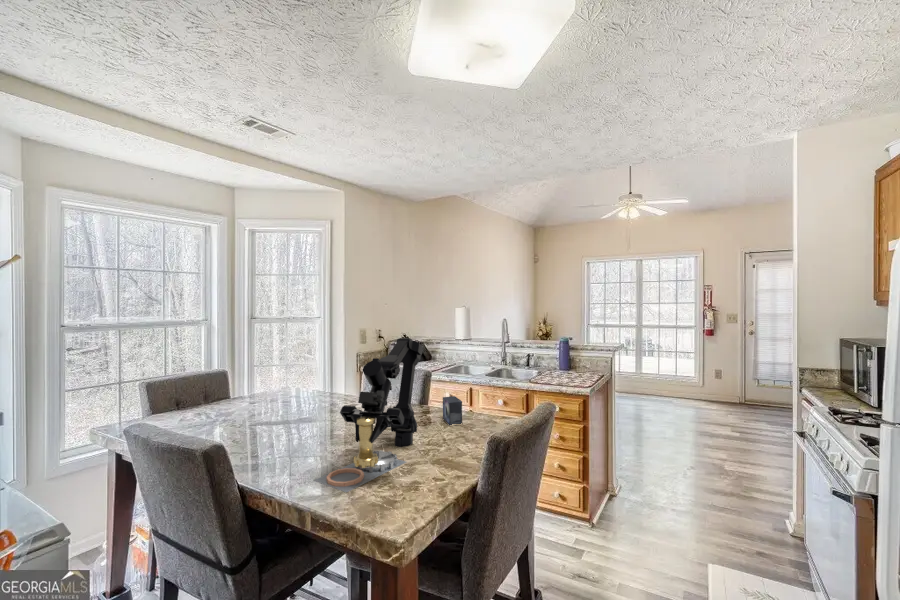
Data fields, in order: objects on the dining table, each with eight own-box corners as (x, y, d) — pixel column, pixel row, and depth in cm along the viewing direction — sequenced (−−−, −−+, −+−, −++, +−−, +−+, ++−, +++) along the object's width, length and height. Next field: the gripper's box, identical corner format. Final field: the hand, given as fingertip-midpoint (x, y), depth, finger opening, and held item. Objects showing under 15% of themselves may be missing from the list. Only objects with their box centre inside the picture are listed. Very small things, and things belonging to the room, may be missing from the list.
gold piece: (369, 456, 125) (369, 413, 125) (382, 463, 120) (382, 418, 120) (349, 463, 120) (349, 418, 120) (362, 469, 115) (362, 423, 115)
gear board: (375, 457, 143) (375, 450, 143) (407, 466, 135) (407, 458, 135) (313, 485, 121) (313, 476, 121) (346, 497, 113) (346, 488, 113)
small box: (441, 419, 189) (441, 396, 189) (455, 418, 191) (455, 395, 191) (448, 426, 179) (448, 402, 179) (462, 425, 181) (462, 400, 181)
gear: (375, 453, 142) (375, 442, 142) (405, 461, 135) (405, 449, 135) (345, 466, 131) (345, 453, 131) (377, 476, 124) (377, 462, 124)
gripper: (342, 378, 126) (324, 425, 115) (401, 381, 122) (387, 430, 111) (354, 398, 134) (337, 444, 123) (409, 401, 130) (397, 449, 119)
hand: (363, 441), depth 119 cm, fingers closed on gold piece, 4 cm apart
